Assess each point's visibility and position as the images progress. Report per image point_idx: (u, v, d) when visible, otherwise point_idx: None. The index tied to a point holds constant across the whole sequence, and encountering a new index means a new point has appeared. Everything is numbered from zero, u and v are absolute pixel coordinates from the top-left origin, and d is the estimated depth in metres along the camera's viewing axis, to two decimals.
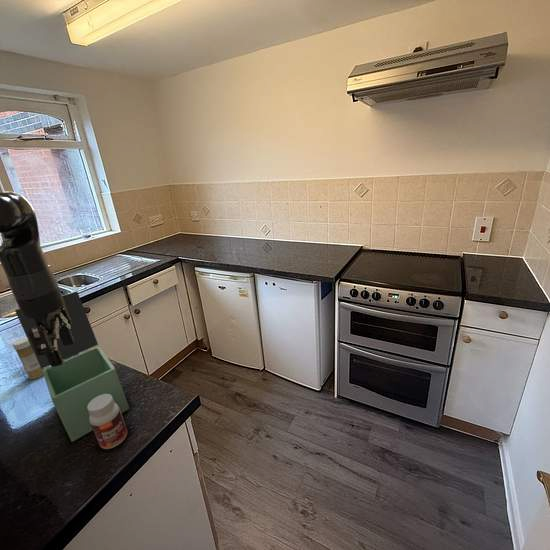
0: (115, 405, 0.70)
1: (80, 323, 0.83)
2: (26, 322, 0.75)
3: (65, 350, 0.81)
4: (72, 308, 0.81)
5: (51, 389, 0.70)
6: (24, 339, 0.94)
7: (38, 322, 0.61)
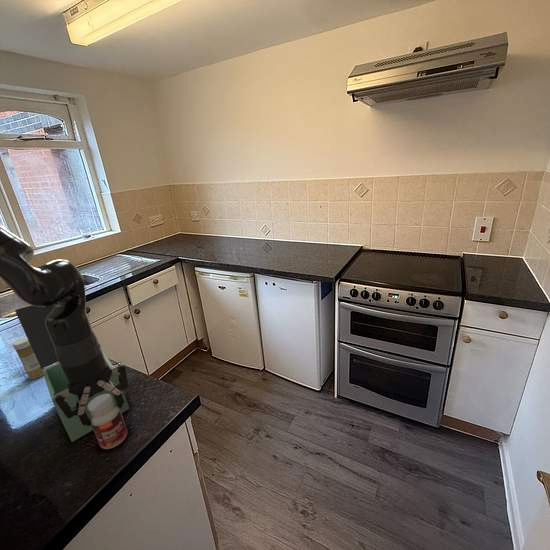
0: (115, 405, 0.70)
1: None
2: (26, 322, 0.75)
3: None
4: None
5: (51, 389, 0.70)
6: (24, 339, 0.94)
7: (68, 385, 0.63)
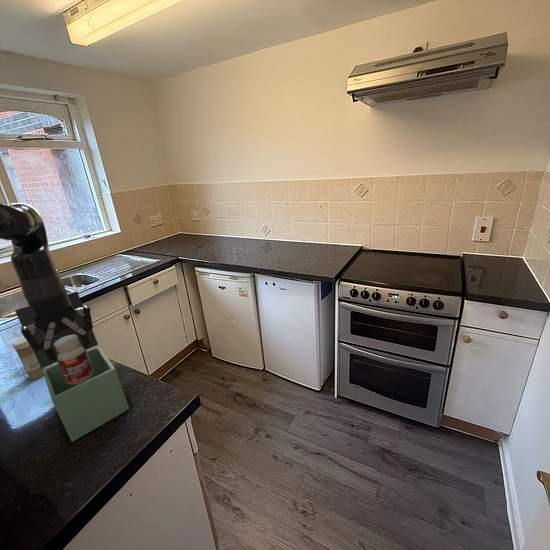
0: (81, 345, 0.76)
1: (80, 323, 0.83)
2: (26, 322, 0.75)
3: None
4: None
5: (51, 389, 0.70)
6: (24, 339, 0.94)
7: (35, 321, 0.69)
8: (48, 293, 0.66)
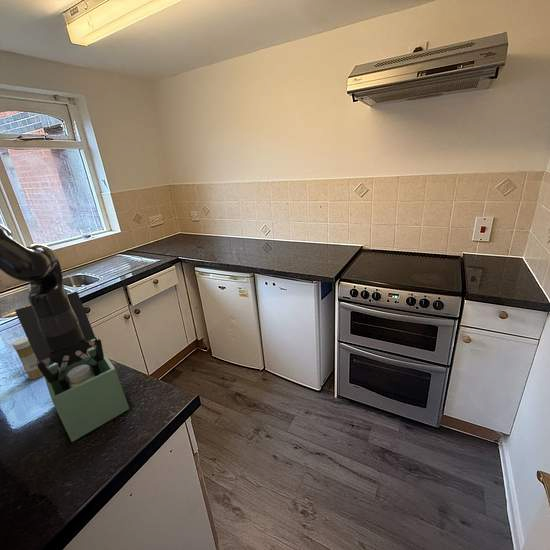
0: (92, 374, 0.79)
1: (80, 323, 0.83)
2: (26, 322, 0.75)
3: None
4: (72, 308, 0.81)
5: (51, 389, 0.70)
6: (24, 339, 0.94)
7: (49, 354, 0.72)
8: (63, 329, 0.69)
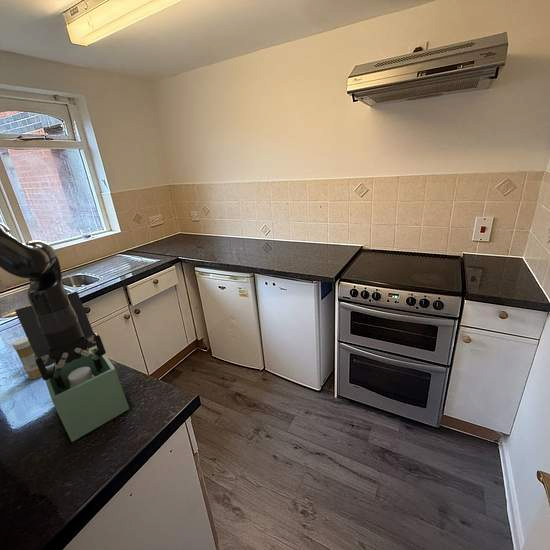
0: (93, 376, 0.79)
1: (80, 323, 0.83)
2: (26, 322, 0.75)
3: None
4: None
5: (51, 389, 0.70)
6: (24, 339, 0.94)
7: (49, 351, 0.72)
8: (62, 326, 0.69)
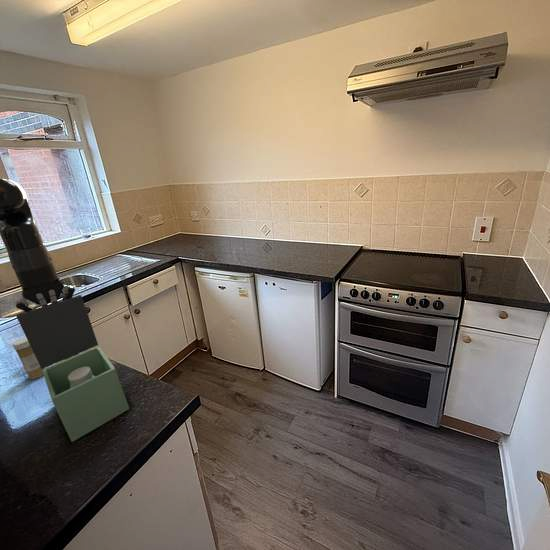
0: (93, 376, 0.79)
1: (82, 326, 0.81)
2: (28, 327, 0.72)
3: (66, 351, 0.80)
4: (75, 312, 0.79)
5: (51, 389, 0.70)
6: (24, 339, 0.94)
7: None
8: (35, 264, 0.70)
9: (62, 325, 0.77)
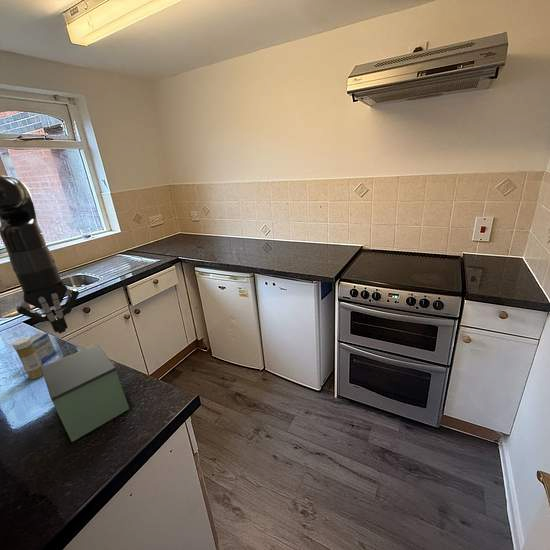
0: None
1: None
2: None
3: None
4: None
5: None
6: (24, 339, 0.94)
7: (24, 298, 0.69)
8: (37, 267, 0.66)
9: None
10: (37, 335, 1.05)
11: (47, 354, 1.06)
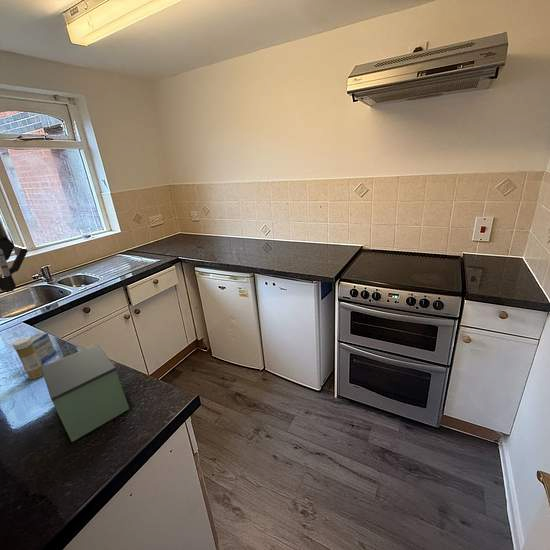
0: None
1: None
2: None
3: None
4: None
5: None
6: (24, 339, 0.94)
7: None
8: None
9: None
10: (37, 335, 1.05)
11: (47, 354, 1.06)
